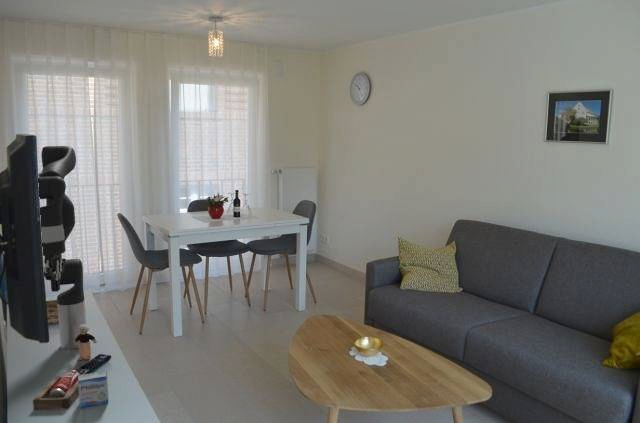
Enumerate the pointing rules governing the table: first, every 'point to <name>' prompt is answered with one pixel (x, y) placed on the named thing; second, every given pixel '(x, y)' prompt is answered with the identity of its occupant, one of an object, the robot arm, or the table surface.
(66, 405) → the u rest
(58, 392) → the soda can
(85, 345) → the grandmother figurine
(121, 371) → the table surface
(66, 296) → the robot arm
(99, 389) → the medicine box
